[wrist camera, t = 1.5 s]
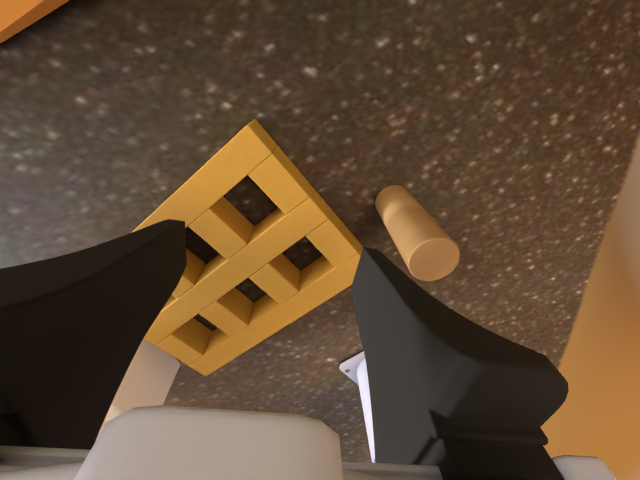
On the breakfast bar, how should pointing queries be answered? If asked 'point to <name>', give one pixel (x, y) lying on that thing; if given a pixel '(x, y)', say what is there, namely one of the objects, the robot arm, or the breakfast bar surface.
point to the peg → (416, 234)
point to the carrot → (23, 14)
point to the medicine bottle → (144, 381)
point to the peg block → (248, 255)
